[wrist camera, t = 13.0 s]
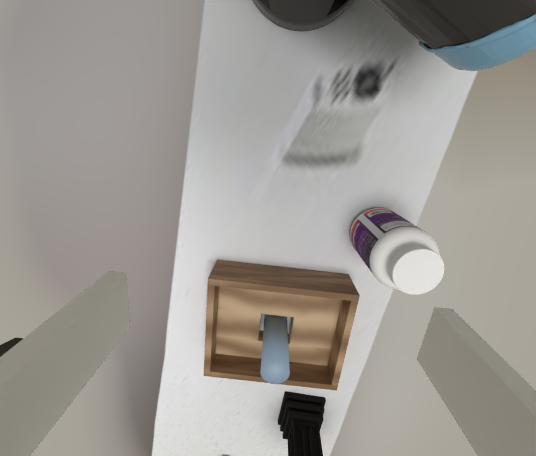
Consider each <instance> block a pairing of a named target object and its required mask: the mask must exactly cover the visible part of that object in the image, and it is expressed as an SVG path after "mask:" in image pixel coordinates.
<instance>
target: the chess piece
mask: <svg viewBox="0 0 536 456" xmlns="http://www.w3.org/2000/svg"><path fill="white" fill-rule="evenodd" d="M325 402H326V401H325V398H324V397H318V396H311V395H305V394H299V393H292V392H286V391H285V394H284V398H283V402H282V406H281V410H280V414H279V418H278V425H281V426H280V431H282V432H283V439H288V456H323V453H322V446H321V439H320V432H319V431H320V428H321V425H322V422H323V413H324V405H325Z"/></svg>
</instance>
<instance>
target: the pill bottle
mask: <svg viewBox="0 0 536 456" xmlns="http://www.w3.org/2000/svg"><path fill="white" fill-rule="evenodd" d="M350 239H351V243H352V245H353V247H354V248H355V250H356V251H357V252H358V254H359V255H360V257H361V258H362V259H363V261H364V262H365V264H366V265H367V266H368V268H369V269H370V270H371V272H372V273H373V275H374V276H375V277H376V279H377V280H378V281H379V282H381V283H382V284H384V285H385V286H387V287H390V288H393V289H398V290H401V291H403V292H404V293H407V294H414V295H416V294H422V293H426V292H428V291H430V290H432V289H433V288H434V287H436V285H437V284H438V283H439V282H440V281H441V279H442V277H443V274H444V263H443V260H442V259H441V257H440V256H439V255H440V254H439V249H438V246H437V244H436V242H435V240H434V239H433V238H432V237H431V236H430V235H429V234H428V233H426V232H425V231H423V230H421V229H420V228H418V227H417V226H415V225H413V224H412V223H410V222H409V221H407V220H405V219H404V218H402V217H401V216H399V215H397V214H396V213H394V212H392V211H390V210H388V209H385V208H373V209H370V210H367V211H365V212H363V213H362V214H360V215H359V216H358V217H357V218H356V219H355V221H354V222H353V224H352V227H351V230H350Z"/></svg>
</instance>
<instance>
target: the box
mask: <svg viewBox="0 0 536 456" xmlns="http://www.w3.org/2000/svg"><path fill="white" fill-rule="evenodd" d="M359 296H360V295H359V294H358V292H357V290H356V288H355V286H354V284H353V282H352V280H351V278H350V276H349V274H341V273H332V272H323V271H314V270H305V269H296V268H287V267H278V266H269V265H260V264H251V263H242V262H233V261H224V260H217V261H216V263H215V266H214V268H213V270H212V272H211V274H210V276H209V278H208V291H207V314H206V337H205V360H204V376H211V377H220V378H229V379H238V380H247V381H256V382H265V383H268V382H266V381H265V380H264V379H263V378H262V376H261V373H260V371H261V358H262V344H263V331H259V328H260V319H261V314H268V315H277V316H286V317H292V319H291V325H290V331H289V334H288V350H289V370H290V374H289V377H288V379H287V380H286V381H284V382H283V383H280V384H284V385H293V386H302V387H311V388H320V389H329V390H337V387H338V383H339V378H340V374H341V370H342V366H343V362H344V358H345V354H346V349H347V345H348V341H349V337H350V333H351V329H352V325H353V321H354V316H355V312H356V308H357V304H358V300H359Z"/></svg>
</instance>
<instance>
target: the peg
mask: <svg viewBox="0 0 536 456" xmlns="http://www.w3.org/2000/svg"><path fill="white" fill-rule="evenodd" d="M260 373H261V376H262V378H263V379H264V380H265V381H266V382H268V383H271V384H280V383H283V382H284V381H286V380H287V379H288V377H289V374H290V370H289V350H288V330H287V317H286V316H277V315H268V314H265V318H264V331H263V344H262V358H261V371H260Z"/></svg>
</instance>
